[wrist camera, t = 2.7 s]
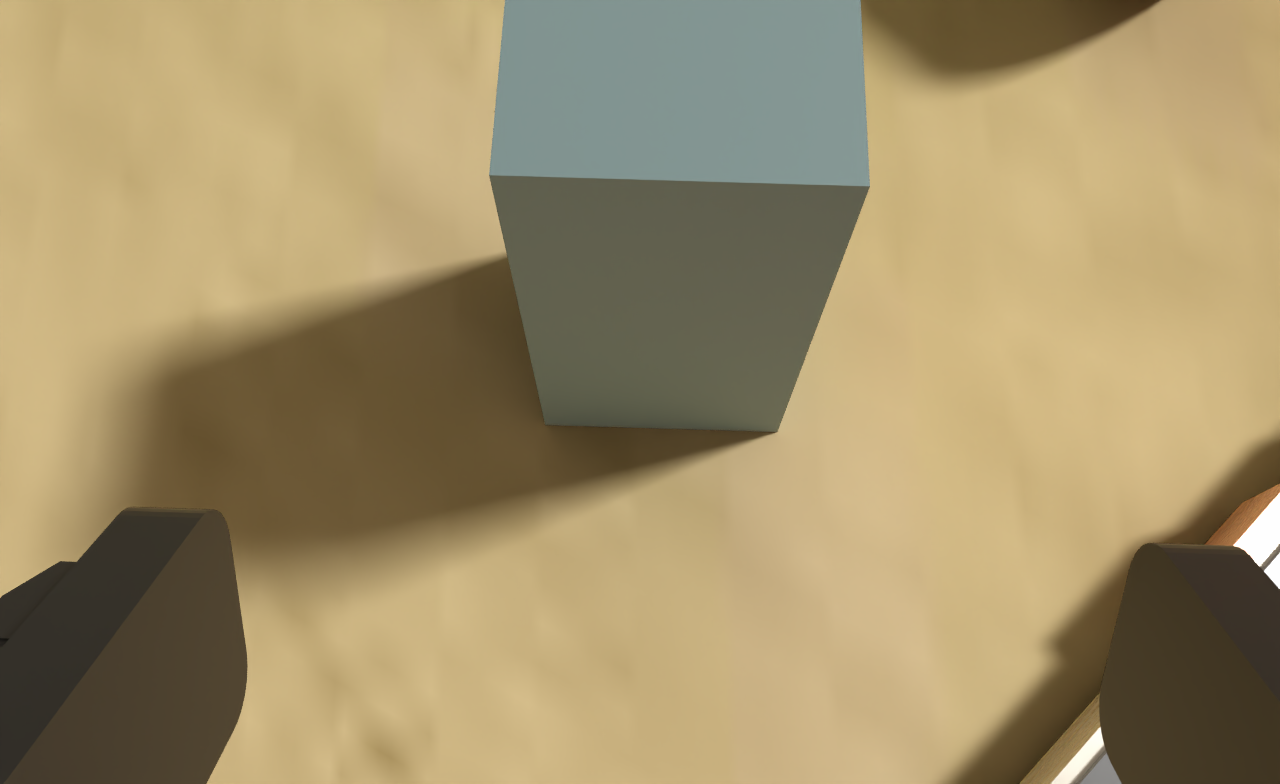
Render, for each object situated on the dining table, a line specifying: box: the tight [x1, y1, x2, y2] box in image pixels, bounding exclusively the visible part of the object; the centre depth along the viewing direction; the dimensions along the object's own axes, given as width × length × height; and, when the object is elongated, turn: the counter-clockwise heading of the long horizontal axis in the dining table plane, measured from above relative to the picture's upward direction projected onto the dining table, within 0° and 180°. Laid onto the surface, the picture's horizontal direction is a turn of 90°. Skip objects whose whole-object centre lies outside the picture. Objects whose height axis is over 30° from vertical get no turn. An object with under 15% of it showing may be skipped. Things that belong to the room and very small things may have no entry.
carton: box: [489, 0, 870, 432], centre depth 20 cm, size 5×4×10 cm
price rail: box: [1019, 484, 1280, 784], centre depth 21 cm, size 18×3×2 cm, turn 133°
